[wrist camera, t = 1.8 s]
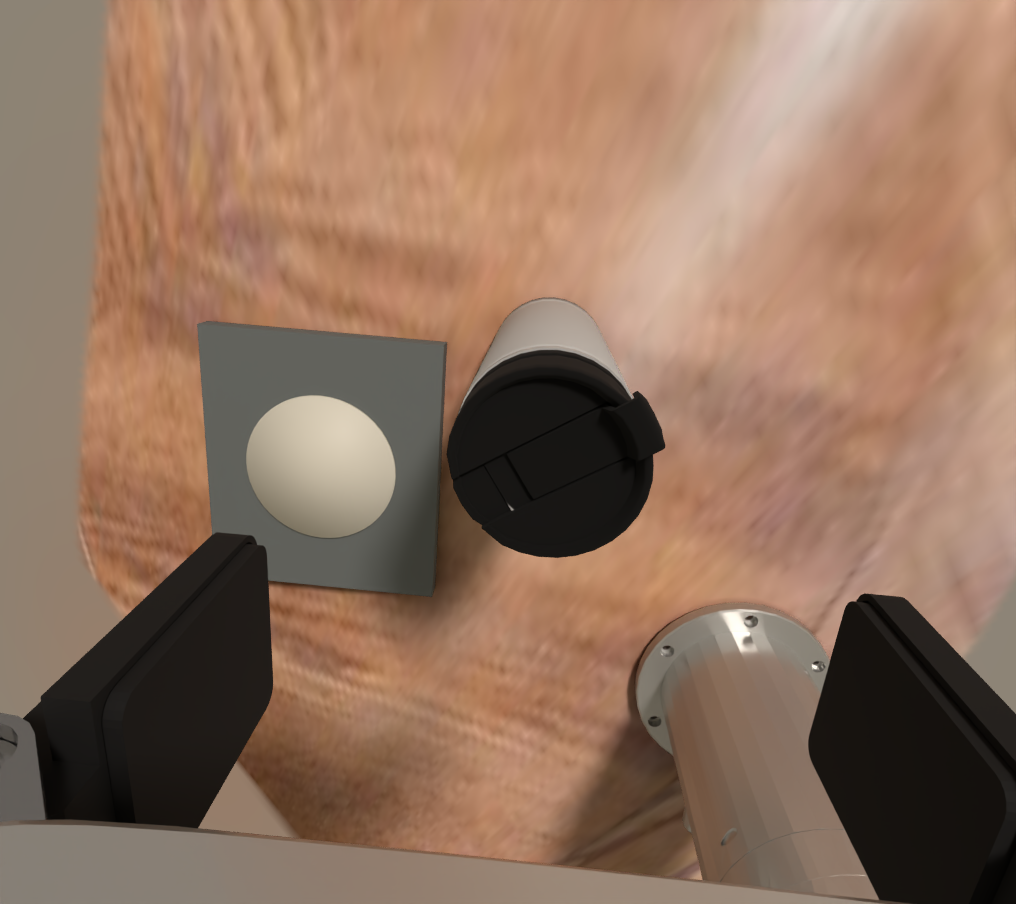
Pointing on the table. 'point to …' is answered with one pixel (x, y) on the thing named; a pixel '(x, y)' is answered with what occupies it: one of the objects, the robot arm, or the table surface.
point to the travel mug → (552, 436)
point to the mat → (326, 452)
